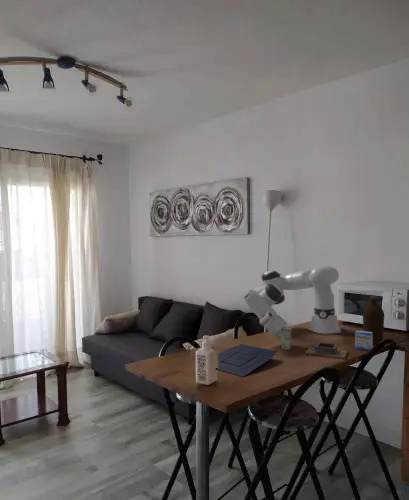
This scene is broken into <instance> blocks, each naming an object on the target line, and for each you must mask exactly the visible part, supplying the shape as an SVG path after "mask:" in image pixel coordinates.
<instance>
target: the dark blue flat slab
mask: <svg viewBox="0 0 409 500" xmlns="http://www.w3.org/2000/svg"><path fill="white" fill-rule="evenodd" d="M276 353H278V350H273V349H267V348H261V347H257V346H254V345H252V346H251V345H247V344H243V343H242V344H239V345H235V346H232V347H229V348H227V349H225V350H223V351H221V352H219V353H218V369H217V370H219V371H222V372H226V373H229V374H233V375H236V376H240V377H245V376H246V375H248V374H250V373H251V372H253V371H255V369H257V368H258V367H260V366H261V365H263V364H265V363H266V362H267V361H269V360H271V359H272V358H274V357H275V356H276V355H277V354H276Z"/></svg>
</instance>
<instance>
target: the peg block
mask: <svg viewBox="0 0 409 500" xmlns="http://www.w3.org/2000/svg"><path fill="white" fill-rule="evenodd" d="M280 331H281V333H282V334H283V335H285V336H286V338H285V339H284V340H283V339H282V338H281V337H280V338H281V339H280V340H281V342H280V343H281V345H280V347H281V350H286V351H287V350H289V351H290V349H292V328H291V327H287V328H282V329H281V330H280Z"/></svg>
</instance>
